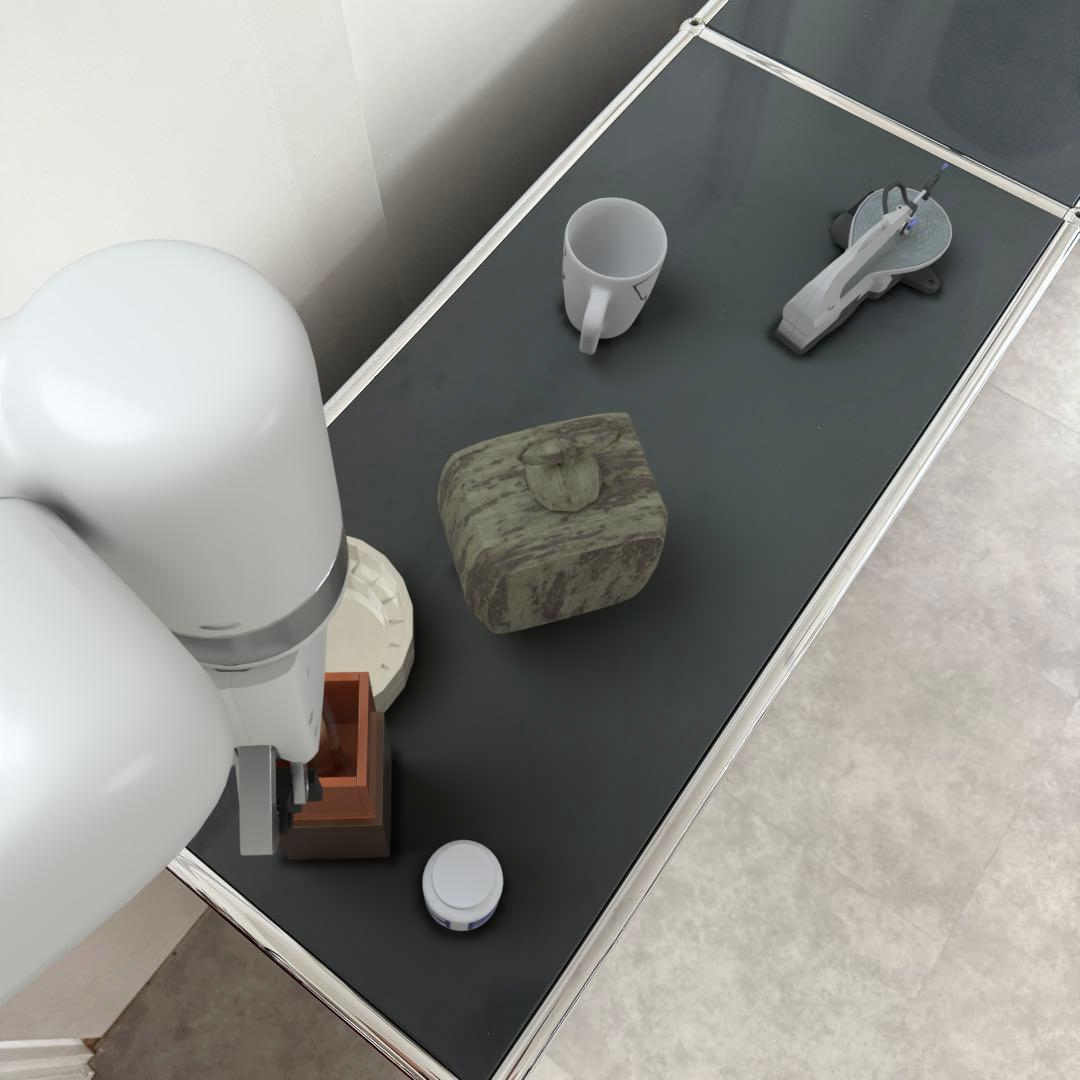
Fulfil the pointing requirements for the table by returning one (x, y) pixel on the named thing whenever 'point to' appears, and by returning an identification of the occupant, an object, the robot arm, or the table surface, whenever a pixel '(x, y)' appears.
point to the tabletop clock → (552, 521)
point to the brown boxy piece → (348, 780)
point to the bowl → (373, 625)
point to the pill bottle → (462, 885)
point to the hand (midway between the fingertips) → (293, 694)
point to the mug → (610, 266)
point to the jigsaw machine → (870, 260)
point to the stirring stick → (327, 755)
